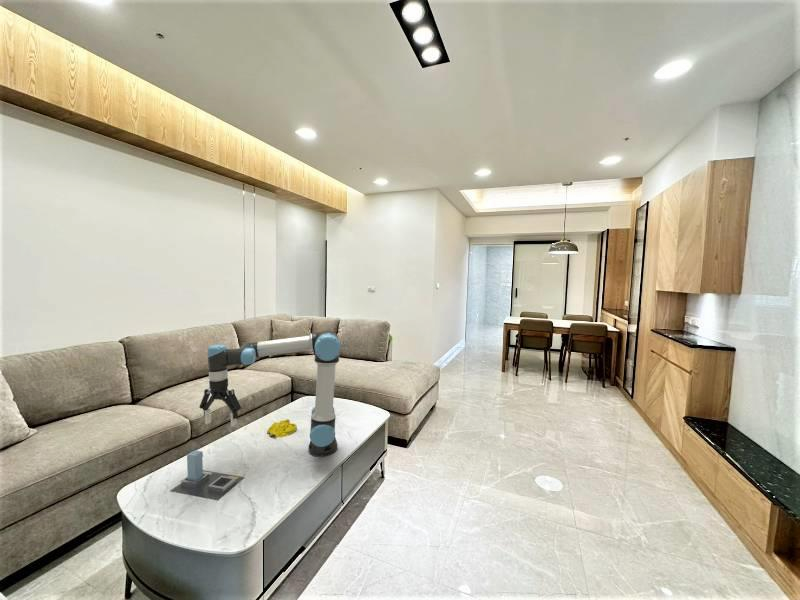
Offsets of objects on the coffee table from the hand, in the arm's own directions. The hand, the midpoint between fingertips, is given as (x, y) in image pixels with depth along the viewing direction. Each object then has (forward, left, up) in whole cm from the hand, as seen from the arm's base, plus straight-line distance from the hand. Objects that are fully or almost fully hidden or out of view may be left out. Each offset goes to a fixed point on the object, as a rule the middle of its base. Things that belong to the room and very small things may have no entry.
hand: (221, 424), depth 151 cm
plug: (+5, +9, -22) cm, 25 cm away
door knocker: (-2, -45, -24) cm, 51 cm away
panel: (-2, +9, -23) cm, 25 cm away
